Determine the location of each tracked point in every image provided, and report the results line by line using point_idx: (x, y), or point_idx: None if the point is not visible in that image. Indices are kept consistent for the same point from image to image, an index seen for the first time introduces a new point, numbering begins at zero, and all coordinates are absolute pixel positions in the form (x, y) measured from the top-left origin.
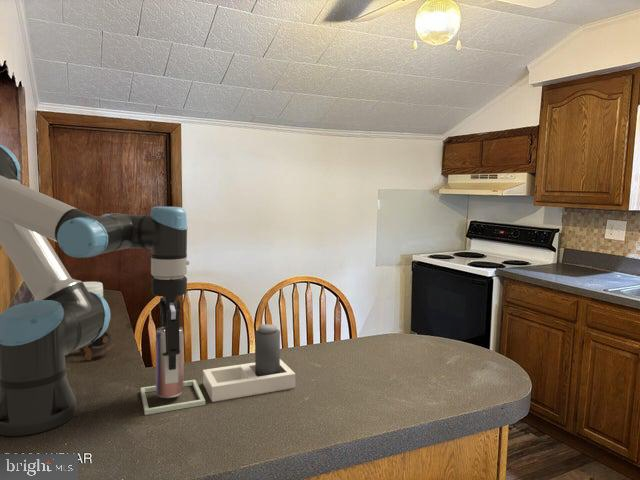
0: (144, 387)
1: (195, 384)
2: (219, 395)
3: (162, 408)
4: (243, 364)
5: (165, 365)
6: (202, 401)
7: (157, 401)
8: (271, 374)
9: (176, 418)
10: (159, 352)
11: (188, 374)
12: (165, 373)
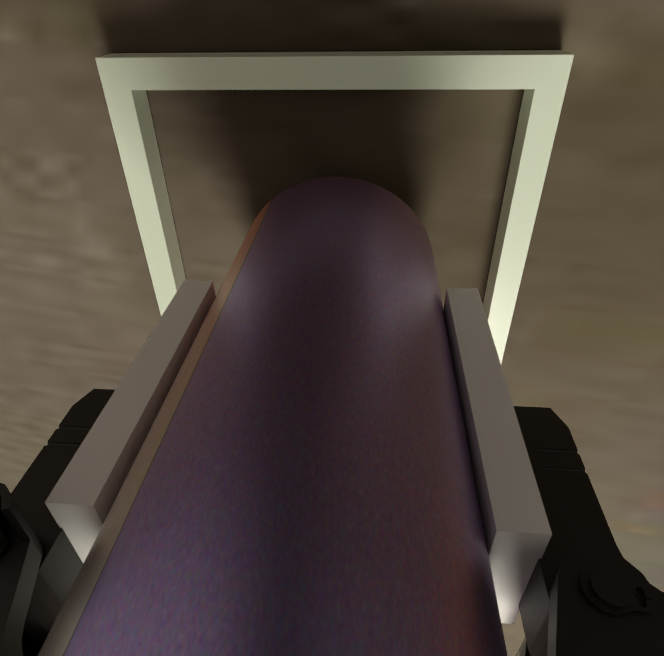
0: (556, 90)
1: None
2: None
3: (129, 184)
4: None
5: (112, 394)
6: None
7: (317, 162)
8: None
9: (49, 239)
10: (146, 470)
11: (655, 388)
12: (149, 336)
